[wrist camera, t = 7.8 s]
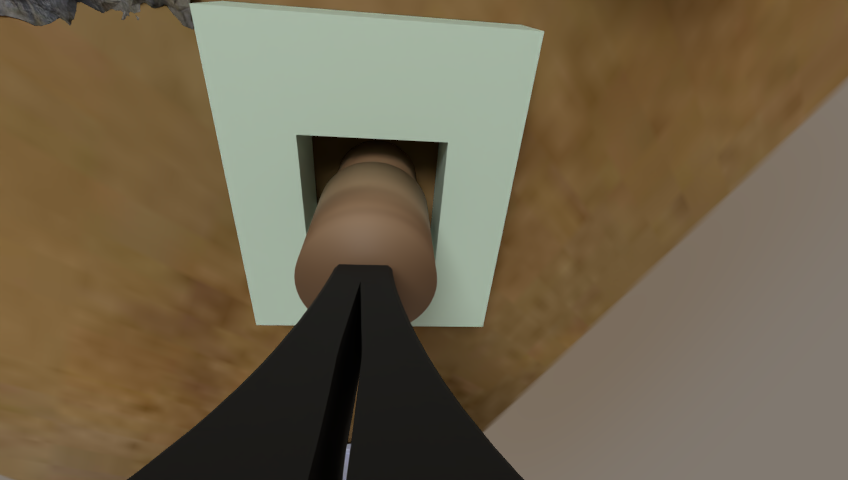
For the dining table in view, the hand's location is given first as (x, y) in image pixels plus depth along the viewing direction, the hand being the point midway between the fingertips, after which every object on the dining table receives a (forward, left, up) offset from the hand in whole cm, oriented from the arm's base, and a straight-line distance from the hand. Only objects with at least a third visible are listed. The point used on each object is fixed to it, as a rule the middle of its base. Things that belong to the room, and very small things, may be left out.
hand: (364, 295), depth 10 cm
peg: (0, 0, -8) cm, 8 cm away
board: (0, 0, -8) cm, 8 cm away
